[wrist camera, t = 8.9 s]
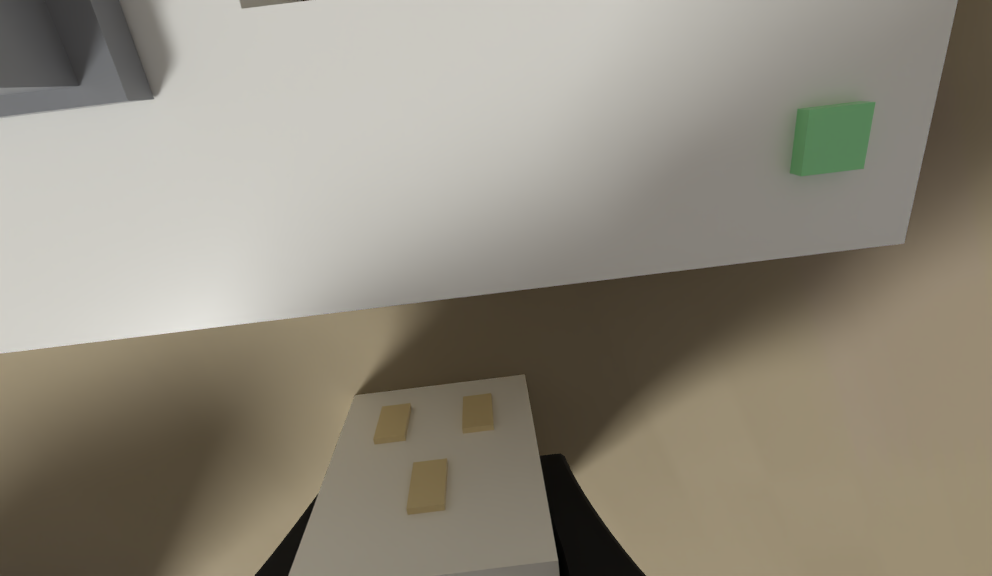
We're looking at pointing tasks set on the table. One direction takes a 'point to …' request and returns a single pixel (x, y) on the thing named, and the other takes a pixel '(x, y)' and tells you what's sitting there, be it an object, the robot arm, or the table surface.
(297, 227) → the socket board
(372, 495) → the plug
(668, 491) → the table surface
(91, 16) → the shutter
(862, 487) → the table surface
